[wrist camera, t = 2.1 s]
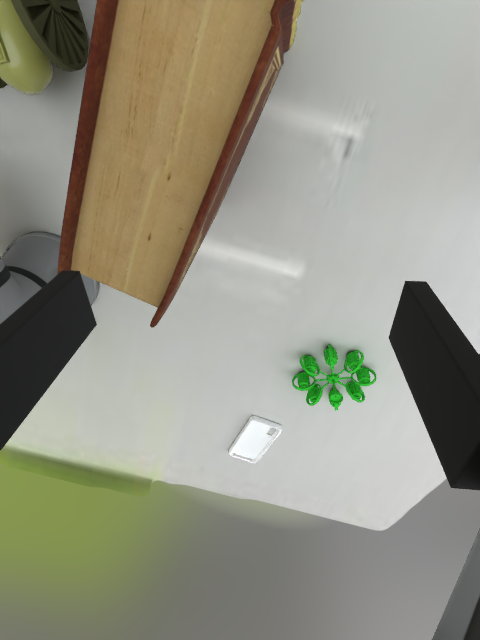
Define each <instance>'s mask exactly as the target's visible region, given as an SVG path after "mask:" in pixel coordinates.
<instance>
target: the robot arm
mask: <svg viewBox="0 0 480 640" xmlns="http://www.w3.org/2000/svg"><path fill="white" fill-rule="evenodd" d="M60 240H61V237H59V236H56V235H54V234H50V233H45V232H32V233H28V234H25V235H23V236H21V237H19V238H18V239H16V240H15V241H13V242H12V243H11V244H10V245H9V246H8V247H7V249H6V250H5V252H4V254H3V257H2V258H1V257H0V450H1V449H2V448H3V447H4V446H5V444H6V443H7V442H8V440H9V439H10V438H11V436H12V435H13V434H14V432H15V431H16V430H17V428H18V427H19V426H20V425H21V423H22V422H23V421H24V419H25V418H26V417H27V415H28V414H29V413H30V411H31V410H32V409H33V407H34V406H35V405H36V403H37V402H38V401H39V400H40V398H41V397H42V396H43V394H44V393H45V392H46V390H47V389H48V388H49V386H50V385H51V384H52V382H53V381H54V380H55V379H56V377H57V376H58V375H59V373H60V372H61V371H62V369H63V368H64V367H65V365H66V364H67V363H68V361H69V360H70V359H71V357H72V356H73V355H74V354H75V352H76V351H77V350H78V348H79V347H80V346H81V344H82V343H83V342H84V340H85V339H86V338H87V336H88V335H89V334H90V333H91V331H92V330H93V329H94V327H95V326H96V325H97V324H96V321H95V318H94V314H93V311H92V308H91V304H92V303H93V302H94V301H95V299H96V297H97V294H98V289H99V284H98V281H96V280H94V279H92V278H89V277H87V276H85V275H82V274H81V273H80V271H66V270H62V271H61V272H60V273H59V274H58V275H57V271H58V258H59V249H60ZM389 340H390V342H391V345H392V347H393V350H394V352H395V354H396V357H397V359H398V362H399V364H400V366H401V369H402V371H403V374H404V376H405V378H406V381H407V383H408V386H409V388H410V390H411V393H412V395H413V398H414V400H415V402H416V405H417V407H418V410H419V412H420V414H421V417H422V419H423V422H424V424H425V426H426V429H427V431H428V434H429V436H430V438H431V441H432V443H433V446H434V448H435V450H436V453H437V455H438V458H439V460H440V462H441V465H442V467H443V470H444V472H445V474H446V477H447V479H448V482H449V484H450V486H451V488H459V489H472V490H480V354H478V353H477V352H476V350H475V349H474V347H473V346H472V345H471V343H470V342H469V341H468V339H467V338H466V336H465V335H464V334H463V332H462V331H461V329H460V328H459V327H458V325H457V324H456V322H455V321H454V320H453V318H452V317H451V316H450V314H449V313H448V311H447V310H446V309H445V307H444V306H443V304H442V303H441V302H440V300H439V299H438V297H437V296H436V295H435V293H434V292H433V291H432V289H431V288H430V286H429V285H428V284H427V282H420V281H405V284H404V287H403V291H402V294H401V297H400V301H399V304H398V308H397V311H396V314H395V318H394V321H393V325H392V328H391V331H390V335H389ZM432 640H480V529H479V532H478V534H477V537H476V539H475V541H474V543H473V546H472V548H471V550H470V553H469V555H468V557H467V560H466V562H465V564H464V567H463V569H462V572H461V574H460V576H459V578H458V581H457V583H456V585H455V588H454V590H453V592H452V595H451V597H450V599H449V601H448V604H447V606H446V609H445V611H444V613H443V615H442V618H441V620H440V622H439V625H438V627H437V629H436V632H435V634H434V636H433V639H432Z"/></svg>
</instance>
